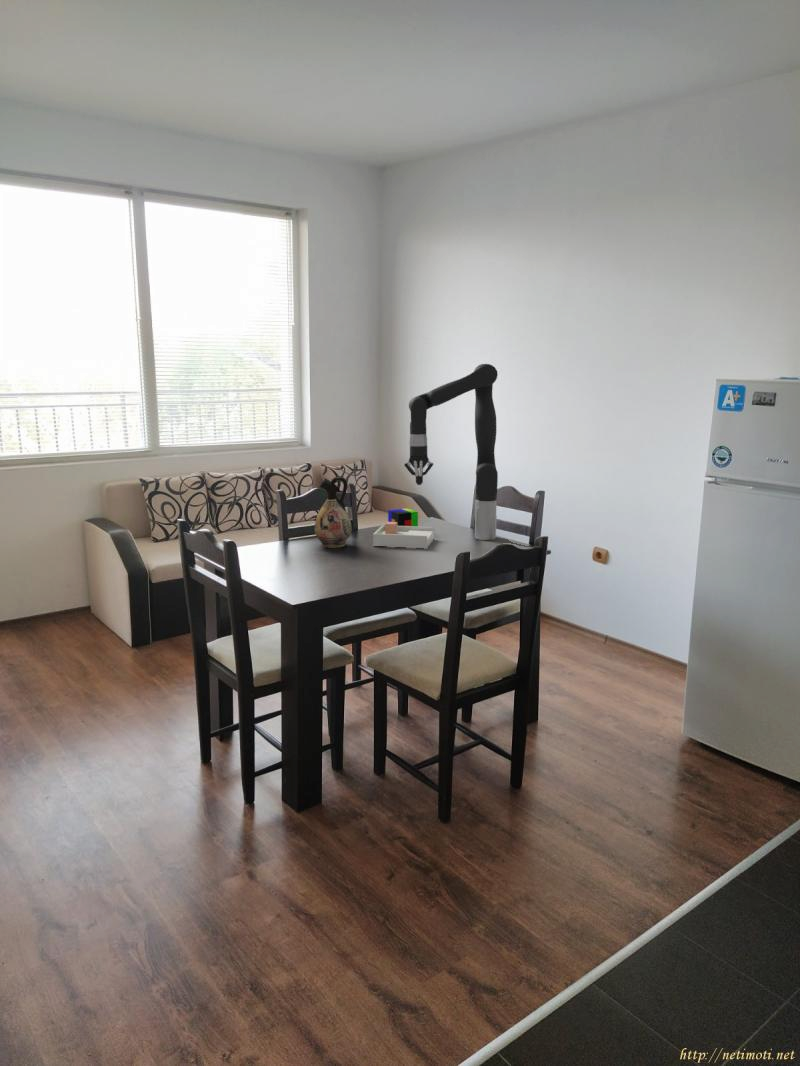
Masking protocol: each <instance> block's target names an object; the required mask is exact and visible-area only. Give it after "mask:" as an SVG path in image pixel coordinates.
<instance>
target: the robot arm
mask: <svg viewBox="0 0 800 1066" xmlns="http://www.w3.org/2000/svg"><path fill="white" fill-rule="evenodd" d="M498 375H499V374H498V370H497V368H496V367H495V366H494V365H493V364H490V363H480V364H478V366H476V367H475V369H474V370H473V372H471V373H469V374H467V375H465V376H463V377H461V378H459V379H455V380H453V381H450V382H447V383H445V384H442V385H439V386H437V387H436V388H434V389H432V390H430V391H428V392H425V393H422V394H419V395H416V396H415V397H412V398H411V399H409V402H408V409H409V411H410V422H409V458H408V461H407V462H405V463H404V467H405V468H406V470H407V471H408V472H409V473H410V474H411V476H414V477H415V483H416V485H417V486H421V485H422V484H423V483H424V481H423V480H424V478H423V477H424V476H426V475H427V474H428V472H429V471H430V470H431V468H433V466H434V463H433V462H431V461H430V459H429V457H428V437H427V415H428V414H427V410H428V409H431V408H433V407H437V406H440V405H442V404H445V403H446V402H449V401H452V400H454V399H456V398H457V397H459V396H462V395H464V394H465V393H469V392H470V391H474V393H475V404H474V405H475V406H474V407H475V408H474V409H475V410H474V432H475V442H476V443H475V444H476V449H477V458H476V470H475V501H474V502H475V505H474V507H475V509H474V538H475V539H477V540H481V541H494V540H496V539H497V500H498V499H497V497H498V483H499V482H498V479H499V477H498V476H499V475H498V474H499V473H498V470H497V466H496V457H495V448H496V447H495V446H496V441H497V415H496V413H497V412H496V407H495V404H494V400H493V388H494V383H495V382H496V381H497V379H498ZM411 466H412V467H413V468H412V467H411ZM425 467H427V468H426V469H424V468H425Z"/></svg>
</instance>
